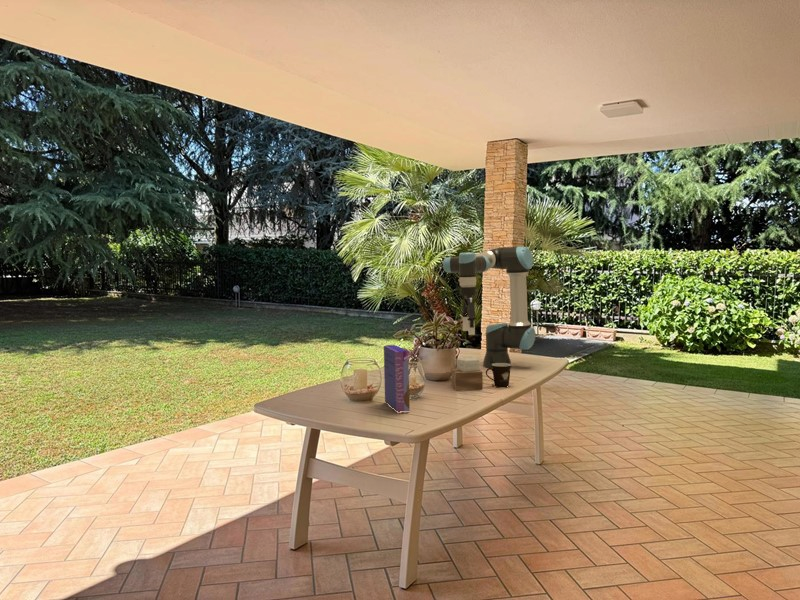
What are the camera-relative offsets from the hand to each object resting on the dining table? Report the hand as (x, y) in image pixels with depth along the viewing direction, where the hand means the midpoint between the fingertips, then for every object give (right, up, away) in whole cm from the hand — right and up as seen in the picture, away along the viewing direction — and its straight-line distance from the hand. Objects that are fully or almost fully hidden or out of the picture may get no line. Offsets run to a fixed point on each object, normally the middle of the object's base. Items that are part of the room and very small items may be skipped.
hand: (468, 332), depth 255 cm
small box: (-1, -17, -1) cm, 17 cm away
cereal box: (-33, -28, -33) cm, 55 cm away
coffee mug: (+14, -25, +1) cm, 28 cm away
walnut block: (-1, -25, 0) cm, 25 cm away
